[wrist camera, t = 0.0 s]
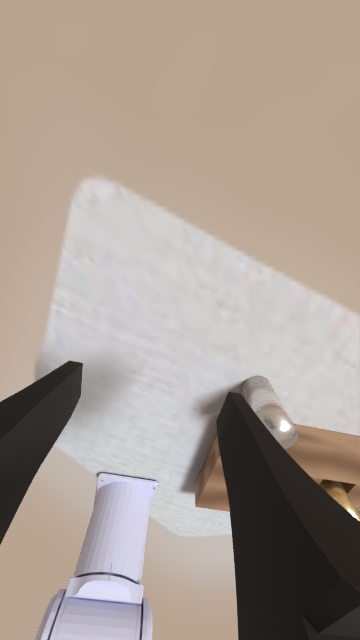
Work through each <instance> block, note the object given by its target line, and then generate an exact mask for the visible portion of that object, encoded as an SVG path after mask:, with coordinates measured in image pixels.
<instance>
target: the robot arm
mask: <svg viewBox="0 0 360 640" xmlns="http://www.w3.org/2000/svg"><path fill="white" fill-rule="evenodd" d="M82 367H83V363H79V362H74V361H68V362H67V363H65V364H63V365H62V366H60V367H59V368H57V369H55V370H54V371H52V372H51V373H49V374H48V375H46V376H44V377H43V378H41V379H39V380H38V381H36V382H34V383H33V384H31V385H30V386H28V387H26V388H25V389H23V390H21V391H19V392H18V393H16V394H14V395H12V396H10V397H8V398H7V399H5V400H3V401H1V402H0V544H1V542H2V540H3V538H4V536H5V534H6V532H7V530H8V528H9V526H10V524H11V522H12V520H13V518H14V515H15V513H16V512H17V509H18V507H19V505H20V503H21V502H22V500H23V497H24V496H25V494H26V492H27V490H28V487H29V486H30V484H31V482H32V480H33V478H34V476H35V474H36V473H37V471H38V469H39V467H40V466H41V464H42V463H43V461H44V459H45V458H46V456H47V454H48V453H49V451H50V450H51V448H52V446H53V445H54V443H55V442H56V440H57V438H58V437H59V435H60V434H61V432H62V430H63V429H64V427H65V425H66V424H67V422H68V421H69V419H70V417H71V415H72V413H73V411H74V409H75V407H76V405H77V403H78V400H79V398H80V396H81V381H82ZM217 436H218V445H219V451H220V456H221V462H222V467H223V472H224V478H225V483H226V488H227V494H228V500H229V508H230V517H231V527H232V538H233V550H234V563H235V577H236V595H237V615H238V638H239V640H360V521H359V520H358V519H357V518H355V517H354V516H353V515H352V514H351V513H349V512H348V511H347V510H346V509H345V508H344V507H343V506H341V505H340V504H339V503H338V502H337V501H336V500H335V499H334V498H332V497H331V496H330V495H329V494H328V493H327V492H326V491H325V490H324V489H323V488H322V487H321V486H319V485H318V484H317V483H316V482H315V481H314V480H313V479H312V478H311V477H310V476H309V475H308V474H307V473H306V472H305V471H304V470H303V469H302V468H301V467H300V465H299V464H298V463H297V462H296V461H295V460H294V459H293V458H292V457H291V456H290V455H289V454H288V453H287V451H286V450H285V449H284V448H283V447H282V446H281V445H280V443H279V442H278V441H277V440H276V439H275V437H274V436H273V435H272V434H271V433H270V431H269V430H268V429H267V428H266V426H265V425H264V424H263V423H262V421H261V420H260V419H259V417H258V416H257V415H256V413H255V412H254V411H253V409H252V408H251V407H250V405H249V404H248V403H247V401H246V400H245V399H244V398H243V396H242V395H241V394H238V393H233V392H229V393H228V395H227V397H226V400H225V402H224V404H223V407H222V409H221V412H220V414H219V416H218V419H217ZM157 487H158V482H156V481H152V480H145V479H139V478H132V477H125V476H119V475H112V474H106V473H100V474H99V476H98V481H97V488H96V496H95V502H94V510H93V513H92V517H91V520H90V523H89V527H88V530H87V533H86V537H85V539H84V543H83V546H82V549H81V552H80V556H79V559H78V562H77V566H76V569H75V572H74V575H73V577H71V578H70V580H69V583H68V586H67V589H60V590H59V591H58V593H57V594H56V595H55V596H54V597H53V598H52V599H51V601H50V602H49V605H48V607H47V610H46V612H45V614H44V617H43V619H42V622H41V625H40V627H39V630H38V633H37V635H36V638H35V640H152V629H153V615H152V608H151V606H150V604H149V600H148V599H147V598H143V597H142V596H143V588H144V586H143V585H141V578H142V569H143V561H144V552H145V543H146V535H147V525H148V517H149V512H150V509H151V506H152V503H153V500H154V497H155V494H156V490H157Z"/></svg>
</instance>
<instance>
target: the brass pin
mask: <svg viewBox="0 0 360 640" xmlns="http://www.w3.org/2000/svg"><path fill="white" fill-rule="evenodd" d="M319 486H321V487H322V488H323V489H324V490H325V491H326V492H327V493H328V494H329V495H330V496H331V497H332V498H334V499H335V500H336V501H337V502H338V503H339V504H340V505H341V506H343V507H344V508H345V509H346V510H347V511H348V512H349V513H351V514H352V515H353V516H354V517H355V518H357V519H358V520H359V521H360V514H359V513H358V511H357V509H356V508H355V506H354V505H353V503H352V501H351V500H350V498H349V496H348V495H347V493H346V491H345V490H344V488H343V486H342V485H341V483H340V482H339V481H333V480H327V479H323V480H322V481H321V483H320V484H319Z"/></svg>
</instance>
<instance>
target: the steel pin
mask: <svg viewBox="0 0 360 640" xmlns="http://www.w3.org/2000/svg"><path fill="white" fill-rule="evenodd" d="M242 391H243V394H244V397H245V400H246V401H247V403H248V404H249V405H250V407H251V408H252V409H253V411H254V412H255V413H256V415H257V416H258V417H259V419H260V420H261V421H262V423H263V424H264V425H265V426H266V428H267V429H268V430H269V431H270V433H271V434H272V435H273V436H274V437H275V439H276V440H277V441H278V442H279V443H280V445H281V446H282V447H283V448H284V449H287V448H289V447H291V446H292V445H293V444H295V442H296V441H297V439H298V432H297V430H296V428H295V427H294V425H293V423H292V421H291V419H290V418H289V416H288V414H287V412H286V410H285V409H284V407H283V405H282V403H281V401H280V399H279V398H278V396H277V394H276V392H275V390H274V389H273V387H272V385H271V383H270V381H269V380H268V379H267V378H265V377H262V376H254V377H251V378H249V379H247V380H246V381H245V382H244V384H243V386H242Z"/></svg>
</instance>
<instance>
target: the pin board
mask: <svg viewBox="0 0 360 640" xmlns="http://www.w3.org/2000/svg"><path fill="white" fill-rule="evenodd" d="M293 425H294V427H295V428H296V430H297V432H298V439H297V441H296V442H295V444H293V445H292V446H291V447H289V448H287V449H285V450H286V451H287V453H288V454H289V455H290V456H291V457H292V458H293V459H294V460H295V461H296V462H297V463H298V464H299V465H300V467H301V468H302V469H303V470H304V471H305V472H306V473H307V474H308V475H309V476H310V477H311V478H312V479H313V480H314V481H315V482H316V483H317V484H318V485H319V484H320V483H321V481H322V480H323V479H327V480H333V481H339V482H340V483H341V485H342V486H343V488H344V490H345V491H346V493H347V495H348V496H349V498H350V500H351V501H352V503H353V505H354V506H355V508H356V509H358V508H359V507H360V436H355V435H350V434H344V433H339V432H333V431H328V430H323V429H317V428H312V427H307V426H301V425H296V424H293ZM195 504H196V507H201V508H208V509H215V510H222V511H229V512H230V508H229V500H228V494H227V488H226V483H225V478H224V472H223V467H222V462H221V456H220V451H219V445H218V436H217V435H216V437H215V439H214V442H213V444H212V446H211V449H210V451H209V453H208V455H207V458H206V460H205V462H204V465H203V467H202V469H201V472H200V474H199V476H198V479H197V481H196V483H195Z"/></svg>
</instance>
